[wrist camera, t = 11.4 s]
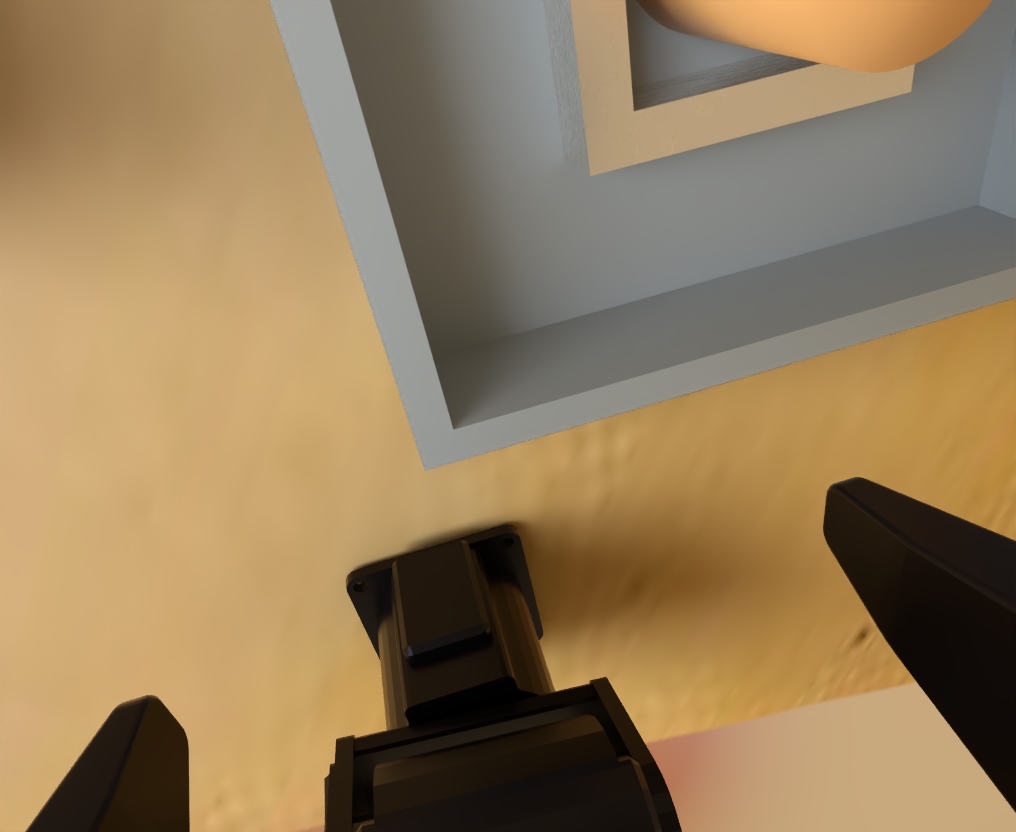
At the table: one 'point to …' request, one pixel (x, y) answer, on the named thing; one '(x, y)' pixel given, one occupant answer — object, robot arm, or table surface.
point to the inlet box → (641, 201)
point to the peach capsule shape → (826, 27)
